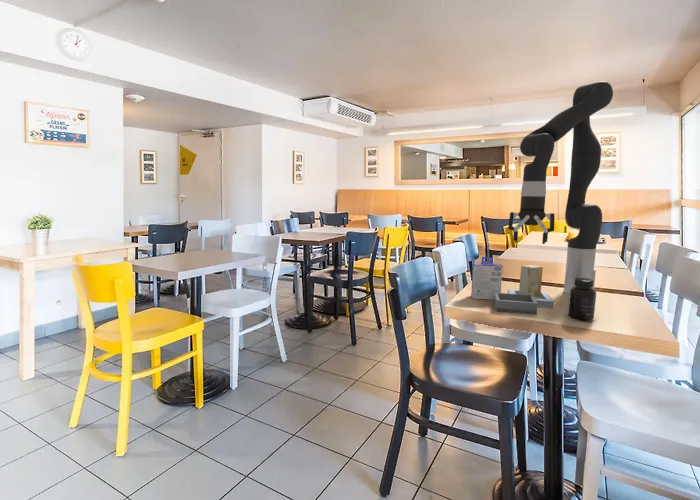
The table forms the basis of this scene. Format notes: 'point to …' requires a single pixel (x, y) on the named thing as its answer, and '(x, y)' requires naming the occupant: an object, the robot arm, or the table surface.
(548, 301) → the socket block
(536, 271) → the skincare box
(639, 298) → the table surface
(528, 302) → the parts tray
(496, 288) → the ink cartridge box
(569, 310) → the supplement bottle
